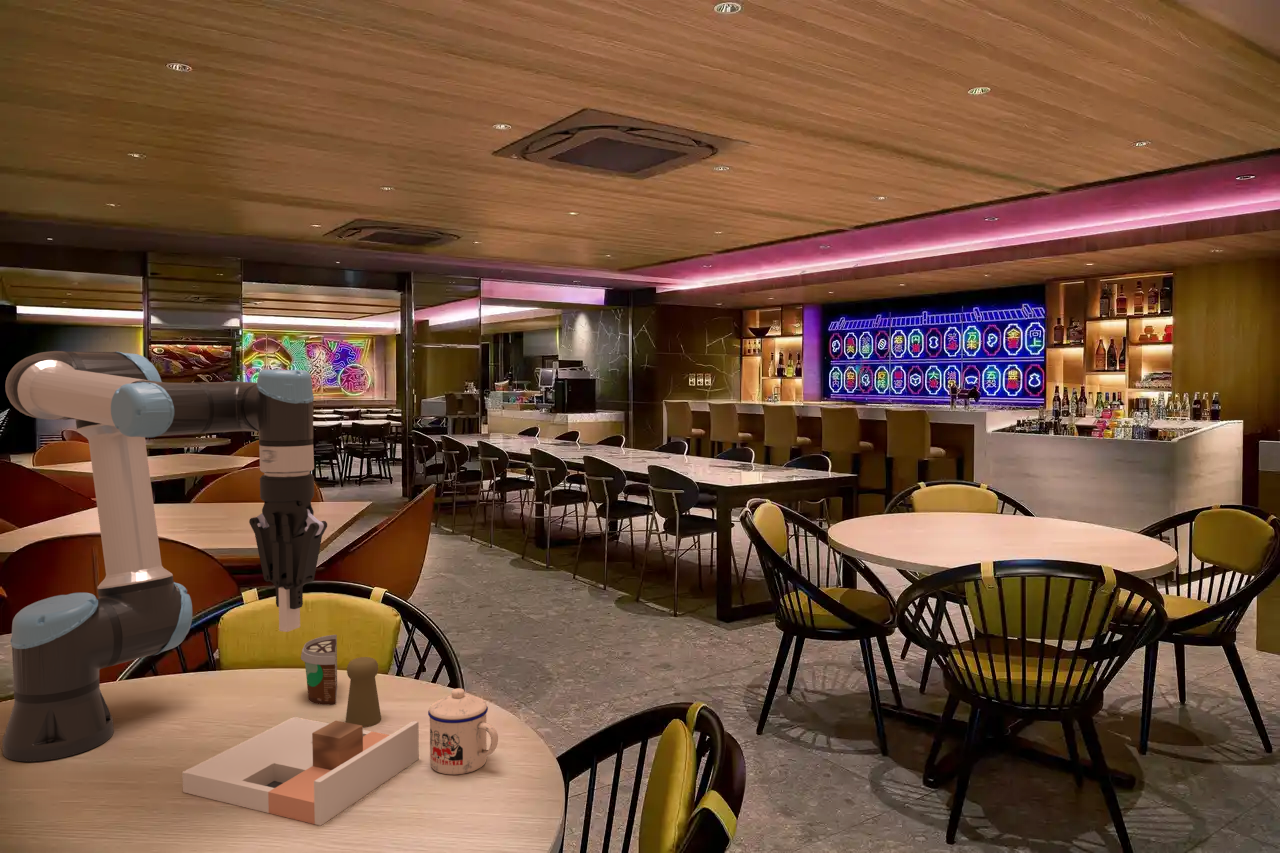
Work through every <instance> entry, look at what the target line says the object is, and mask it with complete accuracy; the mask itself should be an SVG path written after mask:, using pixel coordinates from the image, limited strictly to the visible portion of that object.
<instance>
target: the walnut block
mask: <svg viewBox="0 0 1280 853" xmlns="http://www.w3.org/2000/svg"><path fill="white" fill-rule="evenodd" d="M363 730H364V729H363V726H362V725H357V724H352V723H346V721H340V720H334V721H332V722H331V723H330V724H328V725H326V726H325V727H323V728H321V729H319V730H317V731H315V732H313V733H312V746H313V766H314V767H319V768H323V769H328V770H333V769H335V768H336V767H338V766H340V765H341V764H343V763H344V762H346V761H348V760H349V759H351V758H353V757H354V756H356V755H358V754H359V753H361V752H363Z"/></svg>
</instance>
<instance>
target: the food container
mask: <svg viewBox="0 0 1280 853" xmlns="http://www.w3.org/2000/svg"><path fill="white" fill-rule="evenodd" d="M337 641H338V639H337V634H330V635H324V636H319V637H316V638H314V639H313V638H312V639H310V640H309V641H307V642H305V644H304V645H303V648H302V650H301V655H300V659H301V660H302V661H303V662H304V664H305V665H304V666H305V667H304V668H305V674H306V675H305V676H306V677H305V678H306V687H307V695H308V696H307V698H308V701H309V702H310V703H312V704H315V705H321V706H322V705H323V706H331V705H332V706H334V705H336V704H337V692H338V642H337Z"/></svg>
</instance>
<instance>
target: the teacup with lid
mask: <svg viewBox="0 0 1280 853" xmlns="http://www.w3.org/2000/svg"><path fill="white" fill-rule="evenodd" d="M488 710H489V706H488V704H487V702H486V701H485V700H484V699H482V698H481V697H477V696H475V695H474V696H473V695H470V694H467V693H465V690H464V688H459V687H458V688H454V689H452V690H451V694H450V695H447V696H445V697H442V698H440V699H437V700H436V701H434V702H433V703H432V704H430V707H429V708H428V712H427V713H428V716H429V751H430V752H429V758H430V759H429V761H430V762H429V763H430V766H431V769H433V770H434V772H437V773H440V774H443V775H464V774H469V773H472V772H475V771H477V770H479V769H481V768H482V767H483V766H484V765H485V764H486V761H487V758H488V757H487V756H490V755H492V754H493V753H494V752H495V751H496V750H497V748H498V747H497V746H498V744H499V736H498V732H497V729H495V727H494V726H493V725H492V724H489V723H487V712H488ZM487 734H489V736H490V745H489V748H488V749H487Z"/></svg>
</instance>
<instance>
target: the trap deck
mask: <svg viewBox="0 0 1280 853" xmlns="http://www.w3.org/2000/svg"><path fill="white" fill-rule="evenodd" d="M328 724H330V723H328V722H323V721H318V720H314V719H307V718H301V717H297V716H293V717H291V718H288V719H286V720H285V721H282V722H280V723H279V724H276V725H274V726H273V727H270V728H268V729H267V730H264V731H262V732H260V733H258V734H256V735H254V736H252V737H250V738H247V739H246V740H245V741H244V740H243V741H242V742H239V743H238V744H236V745H234V746H232V747H230V748H228V749H225V750H224V751H222V752H219V753H218V754H216V755H213V756H212V757H210V758H208V759H206V760H204V761H202V762H200V763H198V764H195V765H193V766H192V767H190V768H187V769H186V770H183V771H181V772H182V774H181V775H182V792H183V793H185V794H189V795H194V796H196V797H197V796H198V797H201V798H206V799H209V800H214V801H218V802H221V803H226V804H229V805H234V806H239V807H244V808H246V809H250V810H254V811H258V812H263V813H268V814H272V815H275V816H279V817H283V818H288V819H291V820H296V821H300V822H303V823H308V824H312V825H316V826H320V827H321V826H323V825H324V824H325V823H327V822H328V821H330V820H332V819H333V818H334V817H335V816H337V815H339V814H340V813H342V812H343V811H345V810H346V809H348V808H349V807H350V806H352V805H353V804H355V803H356V802H358V801H359V800H361V799H362V798H364V797H365V796H366V795H368V794H370V793H371V792H372V791H374V790H375V789H377V788H378V787H380V786H381V785H383V784H384V783H386V782H387V781H389V780H390V779H392V778H393V777H395V776H396V775H397V774H399V773H400V772H402V771H403V770H405V769H407V768H408V767H409V766H411V765H412V764H414V763H415V762H417V761H418V760H419V759H420V751H419V750H420V749H419V748H420V742H419V741H420V740H419V738H420V737H419V733H420V732H419V727H420V726H419V721H416V720H412V721H410V722H409V723H407V724H406V725H403V727H400V728H399V729H398V730H396V731H394V732H393V733H391V734H386V733H381V732H377V731H371V730H365V729H363V752H361V753H359V754H358V755H356V756H354V757H353V758H351V759H349V760H348V761H346V762H344V763H343V764H341V765H340V766H338V767H336V768H335V769H333V770H328V769H323V768H319V767H314V766H313V746H312V733H313V732H315V731H317V730H319V729H321V728H323V727H325V726H326V725H328Z"/></svg>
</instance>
